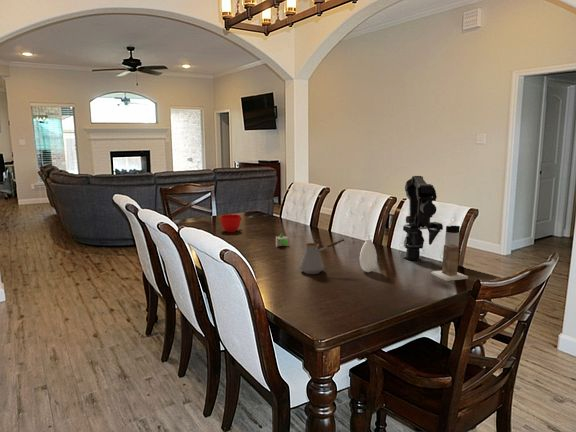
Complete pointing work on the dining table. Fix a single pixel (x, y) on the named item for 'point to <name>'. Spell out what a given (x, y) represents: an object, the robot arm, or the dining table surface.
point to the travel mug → (452, 235)
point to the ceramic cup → (230, 222)
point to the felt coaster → (449, 278)
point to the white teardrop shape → (368, 256)
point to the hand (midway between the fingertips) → (422, 245)
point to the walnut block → (450, 260)
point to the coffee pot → (313, 258)
